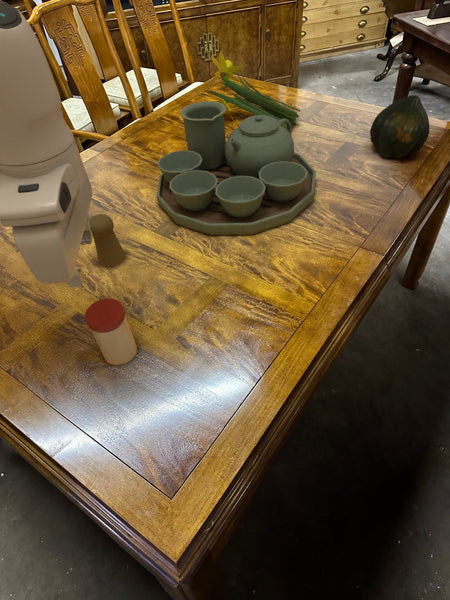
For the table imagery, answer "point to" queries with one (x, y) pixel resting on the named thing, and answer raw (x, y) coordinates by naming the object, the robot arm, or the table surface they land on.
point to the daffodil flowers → (249, 95)
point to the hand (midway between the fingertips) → (82, 261)
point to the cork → (106, 241)
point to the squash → (400, 128)
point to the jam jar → (117, 344)
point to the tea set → (234, 174)
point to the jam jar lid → (105, 315)
